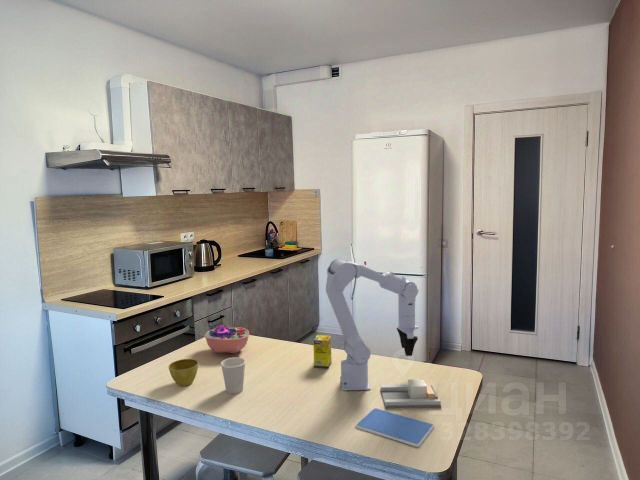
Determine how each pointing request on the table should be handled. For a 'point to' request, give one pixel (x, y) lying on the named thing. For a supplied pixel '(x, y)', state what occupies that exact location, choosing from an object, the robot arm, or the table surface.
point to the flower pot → (183, 371)
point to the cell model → (227, 339)
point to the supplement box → (322, 351)
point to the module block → (417, 389)
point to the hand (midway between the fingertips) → (406, 351)
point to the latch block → (430, 392)
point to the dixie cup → (233, 374)
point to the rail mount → (405, 398)
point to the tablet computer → (395, 427)
